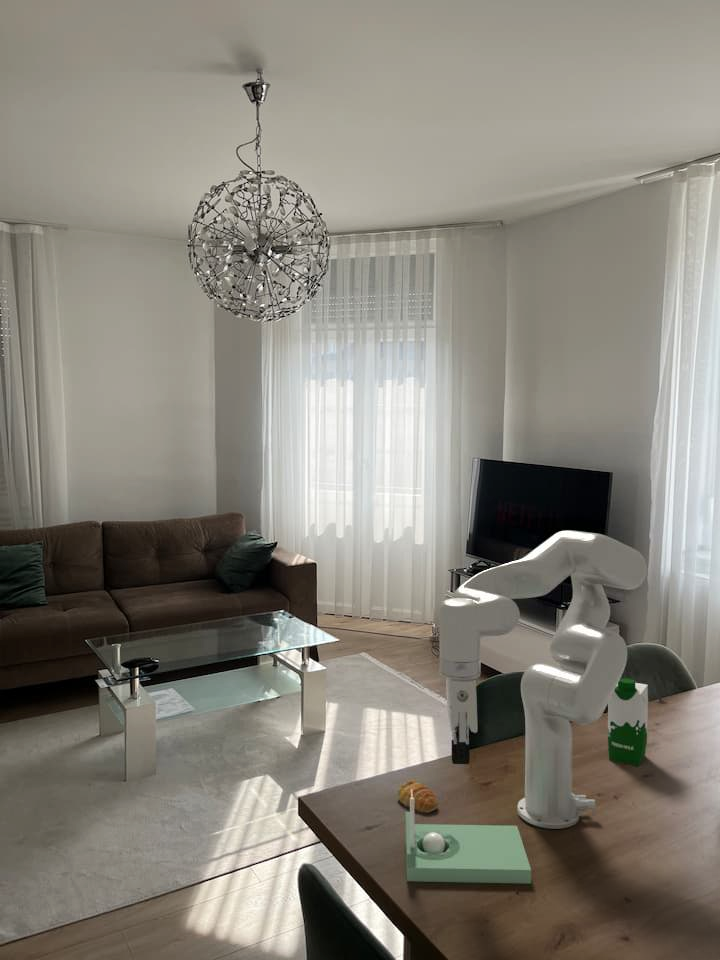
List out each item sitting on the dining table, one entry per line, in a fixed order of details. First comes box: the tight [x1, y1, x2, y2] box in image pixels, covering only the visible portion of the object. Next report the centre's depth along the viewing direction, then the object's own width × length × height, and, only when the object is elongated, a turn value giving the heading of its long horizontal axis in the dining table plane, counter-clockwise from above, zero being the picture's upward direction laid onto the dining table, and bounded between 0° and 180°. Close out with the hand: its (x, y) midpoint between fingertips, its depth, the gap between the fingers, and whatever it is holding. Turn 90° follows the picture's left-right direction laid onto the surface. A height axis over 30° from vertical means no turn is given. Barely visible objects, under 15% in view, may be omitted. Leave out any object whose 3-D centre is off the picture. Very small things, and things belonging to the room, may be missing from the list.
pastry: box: [396, 780, 439, 814], centre depth 163 cm, size 9×7×4 cm
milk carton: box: [607, 677, 649, 767], centre depth 184 cm, size 9×9×20 cm
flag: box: [409, 789, 415, 848], centre depth 139 cm, size 1×4×14 cm, turn 178°
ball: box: [423, 832, 445, 854], centre depth 143 cm, size 4×4×4 cm
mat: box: [405, 811, 532, 885], centre depth 142 cm, size 22×15×5 cm
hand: (460, 762), depth 141 cm, fingers closed
